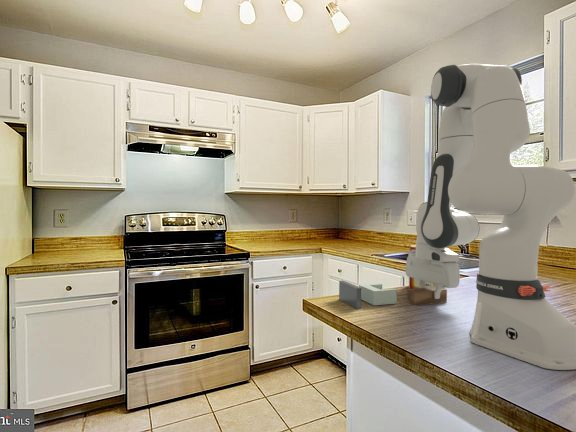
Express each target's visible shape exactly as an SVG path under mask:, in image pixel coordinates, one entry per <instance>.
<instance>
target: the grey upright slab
mask: <svg viewBox="0 0 576 432" xmlns="http://www.w3.org/2000/svg"><path fill="white" fill-rule="evenodd" d="M338 282H339V283H338V290H339V291H338V292H339V293H338V297H339V298H338V300H339V301H342V302H343V303H344V304H347V306H348V305H349V306H351V308H354V309H355V310H359V309H360V310H361V309H362V300H361V288H360V287H359V285H355V284H353V283H350V282H347V281H345V280H339V281H338Z"/></svg>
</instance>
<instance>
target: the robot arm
mask: <svg viewBox="0 0 576 432" xmlns="http://www.w3.org/2000/svg"><path fill="white" fill-rule="evenodd" d="M522 80H523V79H522V74H521V72H520V70H519V69H517V68H516V67H513V66H511V65H504V64H503V65H501V64H500V65H497V64H495V65H494V64H481V63H469V64H466V63H465V64H459V65H456V64H450V65H445V66H442V67H440V68H439V69H438V70H437V71H436V72H435V74H434V75H433V78H432V81H431V85H430V96H431V97H430V98H431V99H432V101H433V102H434V103H433V104H435V105H437V106H441V107H444V108H443V110H442V113H441V117H440V121H439V122H440V123H439V129H438V148H437V153H436V158H435V159H434V161H433V164H432V167H431V173H430V177H429V187H428V194H427V201H425V202H422V203H421V204H419V206H418V208H417V210H416V211H417V213H416V222H415V223H416V224H415V229H416V230H415V231H416V233H417V235H416V239H415V245H416V250H411V251H410V252H408V256H407V257H406V263H405V275H406V277H408V278H409V277H412V278H415V279H418V285H419V287H420V288H426V287H425V283H426V282H429V283H432V284H435V288H436V289H435V291H434V292H432V297H433V298H435V299H439V298H440V293H441V291H442V289H444V288H445V289H457V288H458V287H459V285H460V283H461V282H460V279H461V276H460V275H461V274H460V273H461V272H460V265H459V264H458V262H459V261H460V255H459V254H458V253H457V252H454V251H453V250H452V249H450V248H448V247H453V246H462V245H467V244H470V243H472V242H474V241H475V240H476V239H477V238H478V236H479V234H480V229H481V228H480V223H479V221H478V219H477V218H476V216H474V215H473V214H476V215H503V218H502V221H501V223H500V225H499V226H498V227H497V228H496V229H495V230H493V231H491V232H489V233H488V234H486V235H484V237H483V238H482V239H481V241H480V242H479V249H478V251H479V252H478V254H479V255H478V273H477V274H476V280H475V283H476V287H475V288H476V289H477V299H476V304H475V305H476V307H475V311H474V316H473V322H472V325H471V328H470V330H469V335H470V342H471V343H472V344H475V345H477V346H481V347H483V348H487V349H489V350H491V351H494V352H498V353H500V354H503V355H506V356H508V357H512V358H515V359H517V360H520V361H524V362H526V363H529V364H531V365H535V366H537V367H540V368H543V369H547V370H548V369H549V370H554V371H555V370H556V371H557V370H559V371H567V370H568V371H569V370H570V371H571V370H576V325H575V323H573V322H572V321H571V320H569V319H568V318H567V317H566V316H565V315H564V314H563V313H562V312H560V311H559V310H558V309H557V308H556V307H555V306H554V305H553V304H552V303H551V302H550V301H549V300H547V298H546V294H545V292H550V291H551V289H549V288H551V285H542V283H541V281H540V279H539V278H538V264H539V263H538V262H539V253H540V252H539V250H540V244H541V241H542V238H543V236H544V232H545V231H546V229H547V227H548V226H549V224H550V223H551V221H552V220H553V219H554V218H555V216H556V215H558V214H560V213H561V212H562V211H563V210H566V209H567V208H568V207H569V206H570V204H571V203H572V201H573V199H574V198H575V197H574V196H575V194H576V185H575V181H574V179H573V177H572V176H571V174H570V173H568V172H567V171H565V170H563V169H559V168H555V167H550V166H545V165H514V164H512V163H511V159H510V158H511V154H512V153H514V152H515V151H518V150H519V149H521V148H522V147H523V146H524V145H526V143H527V141H528V140H529V138H530V134H531V129H530V123H529V117H528V116H529V115H528V111H527V104H526V99H525V98H526V97H525V95H524V90H523V88H522V84H523V82H522ZM452 206H453V207H454V208H453V207H452Z"/></svg>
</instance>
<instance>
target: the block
mask: <svg viewBox="0 0 576 432" xmlns="http://www.w3.org/2000/svg"><path fill="white" fill-rule="evenodd" d="M358 287H360V288H361V301H363V302H365V303H368V304H370V305H371V306H381V305H393V304H394V305H395V304H397V299H398V298H397V296H398V293H397V291H398V290H397V289H396V288H385V289H383V283H367V284H359V285H358Z"/></svg>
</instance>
